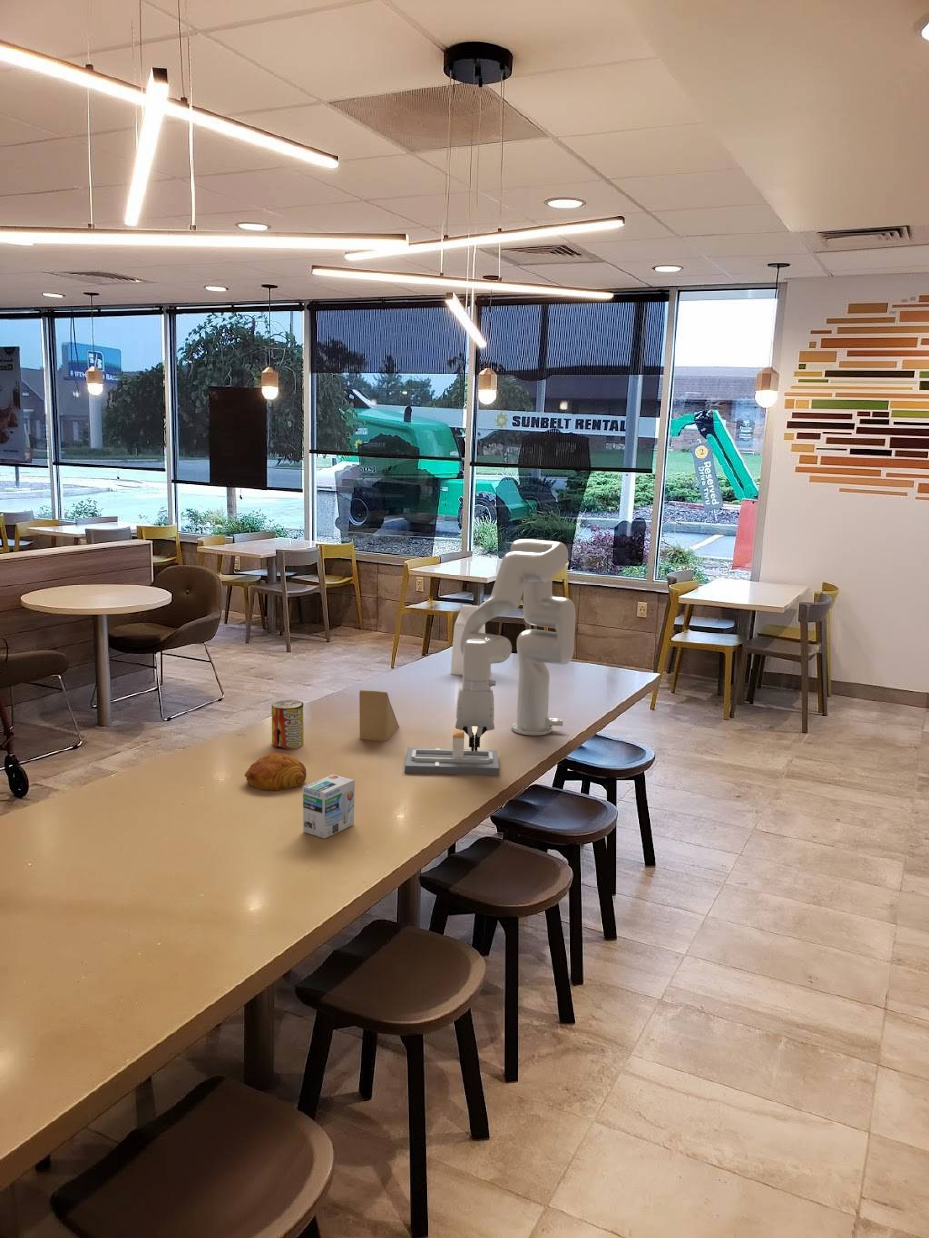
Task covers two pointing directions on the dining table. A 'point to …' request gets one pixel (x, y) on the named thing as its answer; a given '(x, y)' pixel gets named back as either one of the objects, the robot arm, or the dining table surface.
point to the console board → (451, 762)
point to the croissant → (276, 772)
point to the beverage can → (287, 724)
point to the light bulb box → (328, 806)
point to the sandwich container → (376, 716)
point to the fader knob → (458, 744)
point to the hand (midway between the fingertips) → (474, 749)
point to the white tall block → (458, 631)
